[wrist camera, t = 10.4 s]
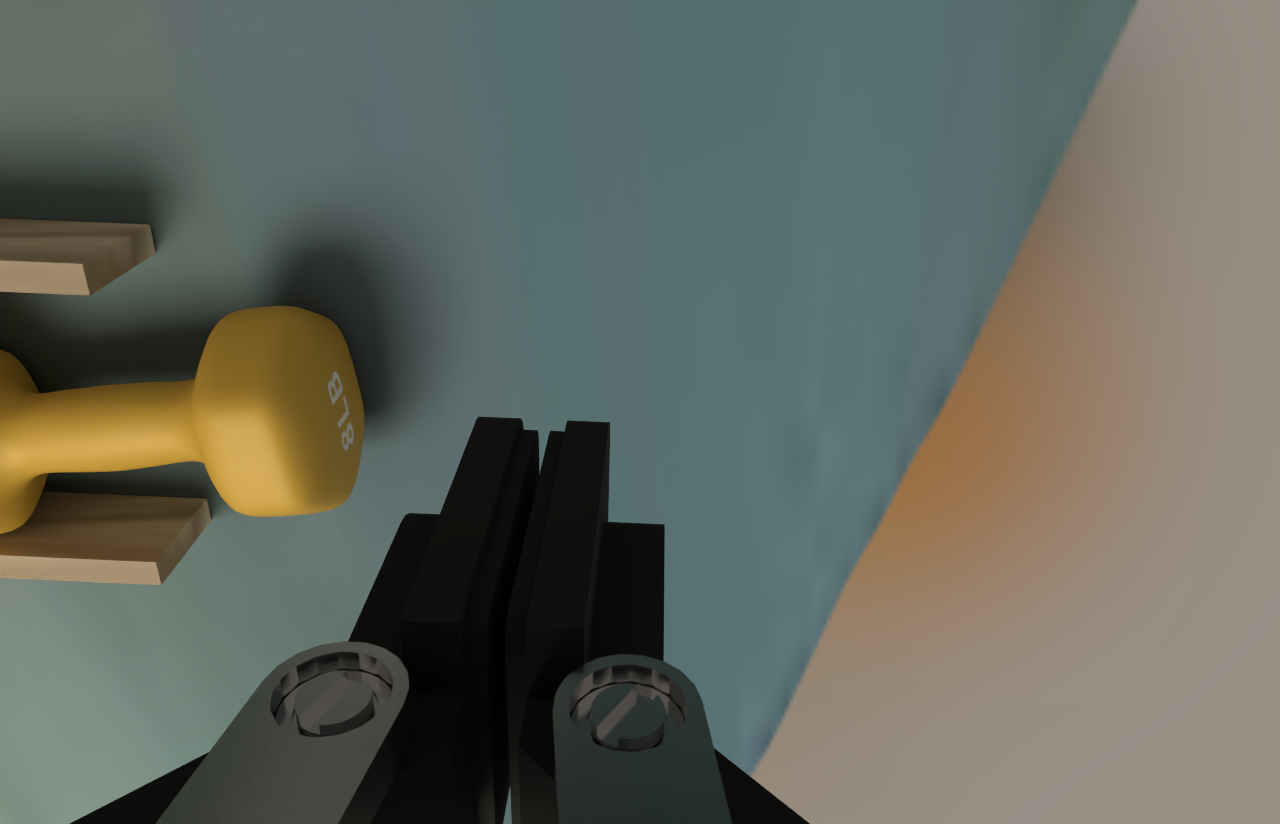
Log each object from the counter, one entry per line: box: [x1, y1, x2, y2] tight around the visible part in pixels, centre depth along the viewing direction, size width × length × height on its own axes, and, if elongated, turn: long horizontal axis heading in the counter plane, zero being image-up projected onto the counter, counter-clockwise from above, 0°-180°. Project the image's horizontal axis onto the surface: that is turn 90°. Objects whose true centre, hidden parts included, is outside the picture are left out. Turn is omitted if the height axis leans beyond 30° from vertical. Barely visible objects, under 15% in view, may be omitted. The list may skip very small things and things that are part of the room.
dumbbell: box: [0, 306, 365, 534], centre depth 39 cm, size 19×9×8 cm, turn 96°
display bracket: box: [0, 218, 211, 585], centre depth 40 cm, size 14×12×5 cm
